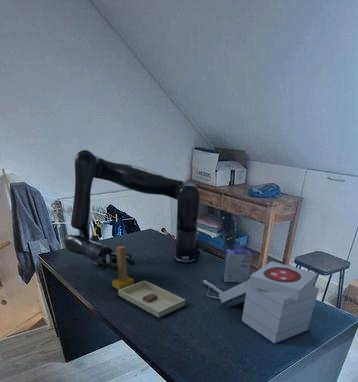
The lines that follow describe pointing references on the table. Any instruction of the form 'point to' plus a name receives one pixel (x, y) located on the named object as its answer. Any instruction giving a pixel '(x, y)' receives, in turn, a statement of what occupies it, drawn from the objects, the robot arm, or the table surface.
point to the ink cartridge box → (237, 265)
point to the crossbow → (212, 288)
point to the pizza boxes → (277, 300)
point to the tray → (156, 307)
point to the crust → (150, 297)
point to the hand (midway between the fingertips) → (125, 265)
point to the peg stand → (122, 270)
